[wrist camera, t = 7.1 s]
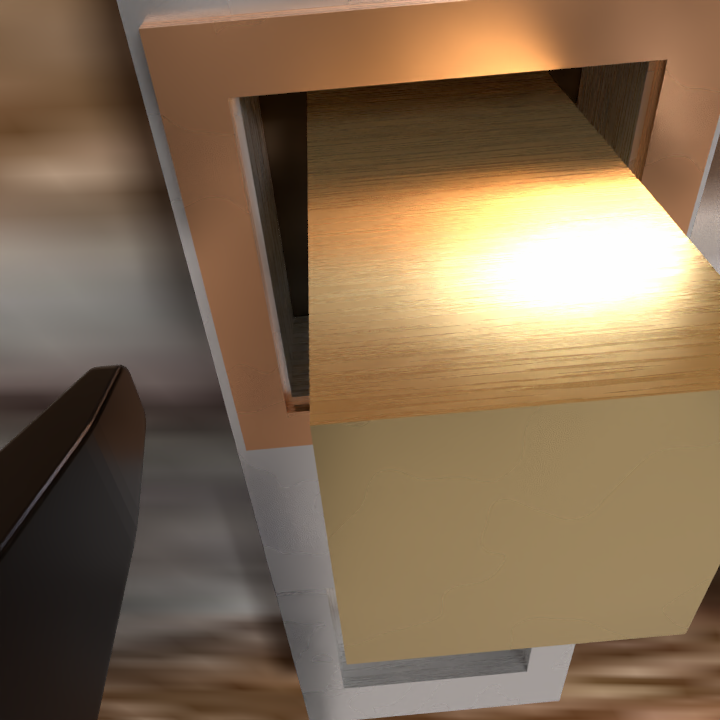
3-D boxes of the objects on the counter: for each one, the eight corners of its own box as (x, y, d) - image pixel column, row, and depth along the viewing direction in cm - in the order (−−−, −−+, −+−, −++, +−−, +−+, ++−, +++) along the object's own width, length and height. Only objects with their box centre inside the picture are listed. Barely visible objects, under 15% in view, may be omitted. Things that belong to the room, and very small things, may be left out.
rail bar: (538, 627, 24) (561, 710, 22) (309, 648, 24) (310, 733, 22) (702, -170, 10) (817, -156, 7) (133, -120, 10) (83, -92, 7)
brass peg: (520, 267, 14) (685, 633, 8) (328, 284, 14) (347, 665, 8) (542, 66, 12) (810, 382, 5) (307, 86, 12) (310, 425, 5)
